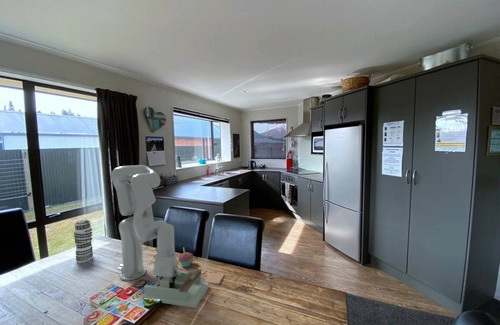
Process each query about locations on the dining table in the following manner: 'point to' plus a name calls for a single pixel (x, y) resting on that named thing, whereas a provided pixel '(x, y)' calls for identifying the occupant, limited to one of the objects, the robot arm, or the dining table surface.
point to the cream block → (165, 282)
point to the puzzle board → (178, 292)
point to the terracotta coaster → (214, 278)
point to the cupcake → (185, 258)
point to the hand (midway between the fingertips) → (167, 287)
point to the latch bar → (190, 279)
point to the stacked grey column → (83, 241)
